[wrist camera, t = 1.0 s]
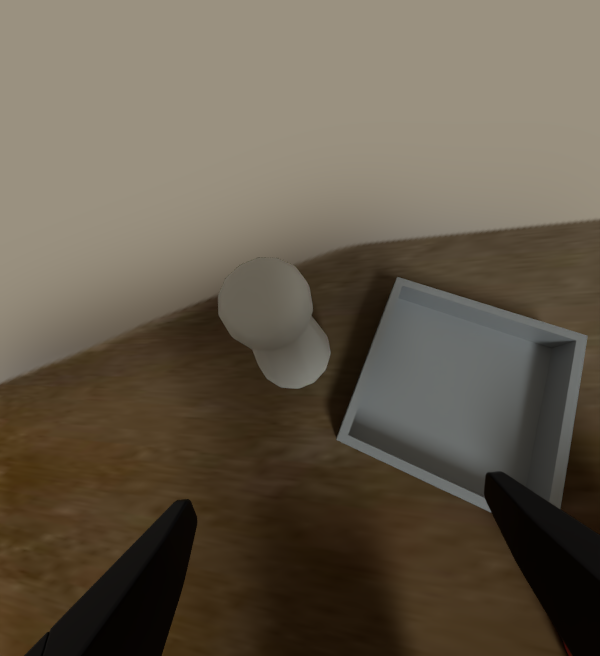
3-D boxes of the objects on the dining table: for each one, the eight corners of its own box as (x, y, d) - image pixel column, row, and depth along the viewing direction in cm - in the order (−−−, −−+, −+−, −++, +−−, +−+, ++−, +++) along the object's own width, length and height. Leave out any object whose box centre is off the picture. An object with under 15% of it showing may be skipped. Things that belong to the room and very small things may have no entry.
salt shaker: (252, 349, 25) (171, 278, 12) (305, 314, 25) (278, 212, 13) (287, 406, 23) (233, 388, 10) (344, 366, 23) (356, 305, 11)
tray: (521, 523, 18) (555, 542, 16) (336, 437, 21) (336, 439, 19) (554, 346, 22) (587, 335, 19) (390, 293, 25) (397, 276, 22)
